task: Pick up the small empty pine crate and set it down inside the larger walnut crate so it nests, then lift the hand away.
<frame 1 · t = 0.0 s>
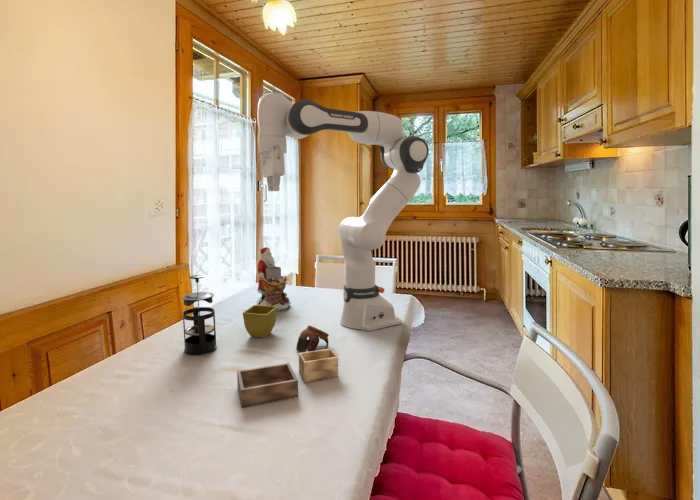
hand: (273, 191, 123), 48 cm above the table, tool pointing down, fingers open, 8 cm apart
flower pot: (261, 335, 128), on the table
santa figurine: (273, 306, 161), on the table
french press: (200, 349, 117), on the table
pottery mug: (312, 351, 116), on the table
small crate: (318, 374, 101), on the table
big crate: (267, 391, 92), on the table
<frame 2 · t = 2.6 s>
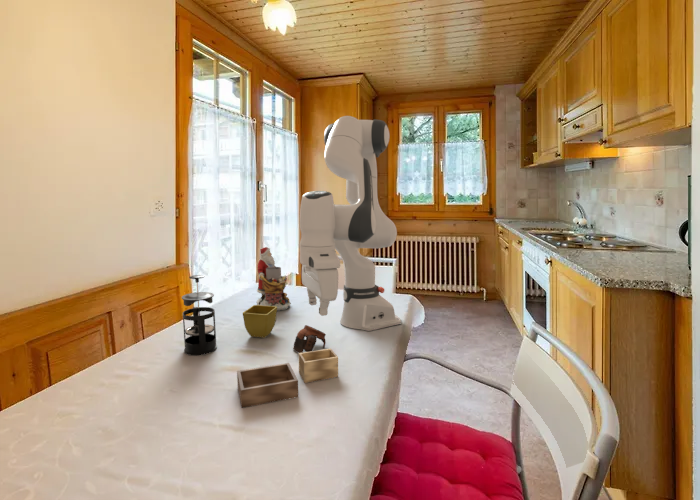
hand: (317, 309, 98), 18 cm above the table, tool pointing down, fingers open, 8 cm apart
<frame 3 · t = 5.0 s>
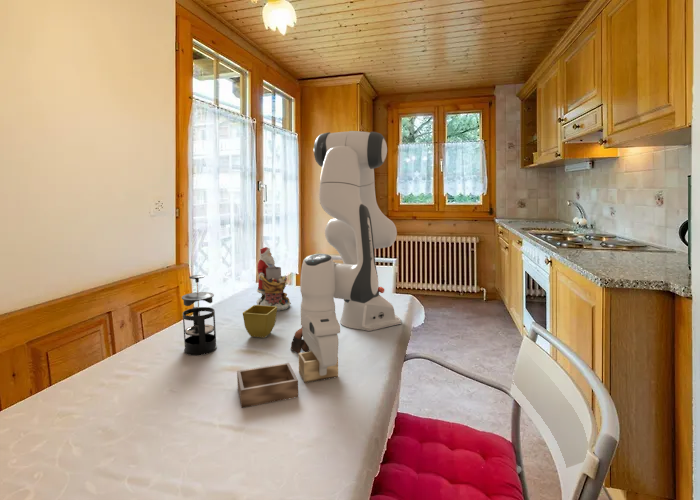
hand: (318, 368, 100), 2 cm above the table, tool pointing down, fingers closed on small crate, 6 cm apart
small crate: (318, 374, 101), on the table, touching gripper
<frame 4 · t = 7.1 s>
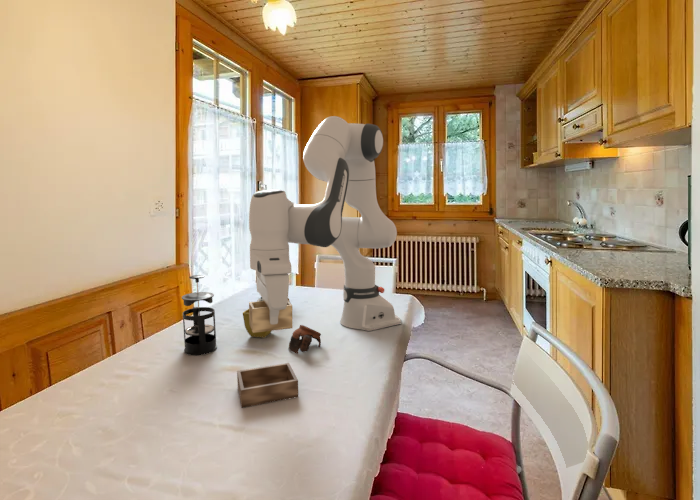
hand: (270, 318, 89), 18 cm above the table, tool pointing down, fingers closed on small crate, 6 cm apart
small crate: (270, 326, 90), point 16 cm above the table, touching gripper
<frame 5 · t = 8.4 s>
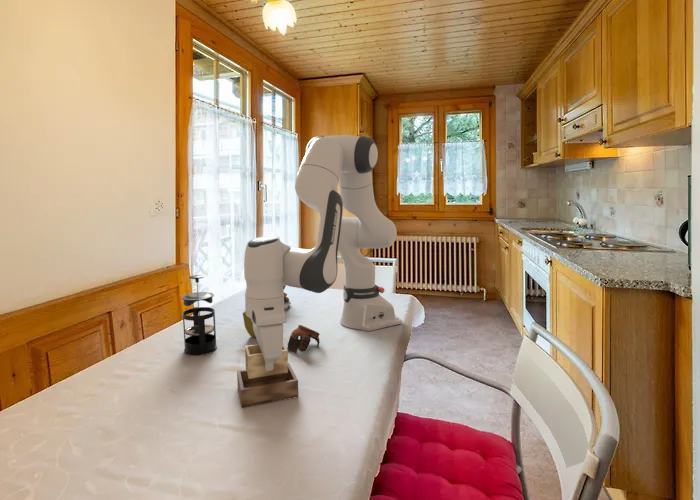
hand: (266, 362, 91), 8 cm above the table, tool pointing down, fingers closed on small crate, 6 cm apart
small crate: (266, 370, 91), point 6 cm above the table, touching gripper
when the fingers open (5 cm above the table, at t = 9.4 s): small crate drops 2 cm, resting on big crate.
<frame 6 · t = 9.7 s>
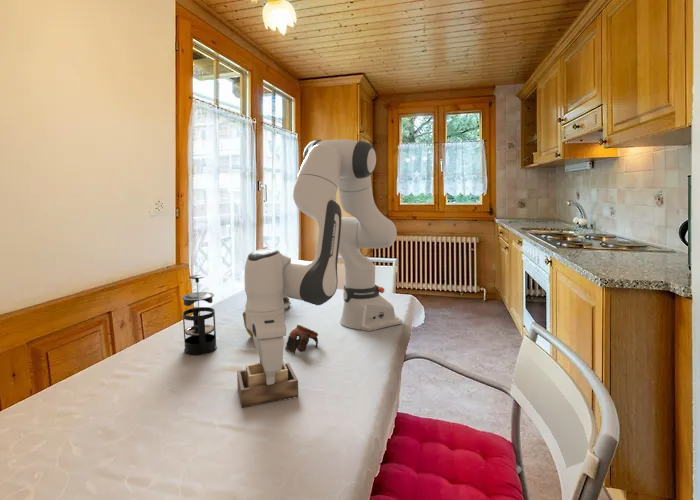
hand: (266, 373, 91), 5 cm above the table, tool pointing down, fingers open, 8 cm apart
small crate: (267, 389, 92), point 1 cm above the table, touching big crate
big crate: (267, 391, 92), on the table, touching small crate
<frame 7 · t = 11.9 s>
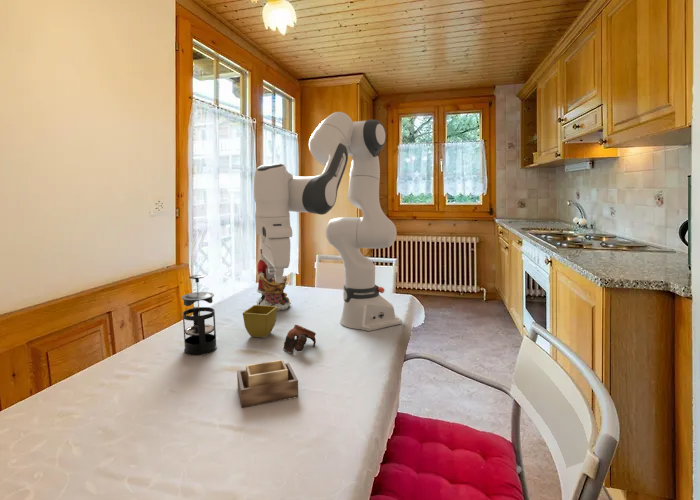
hand: (275, 277, 102), 25 cm above the table, tool pointing down, fingers open, 8 cm apart
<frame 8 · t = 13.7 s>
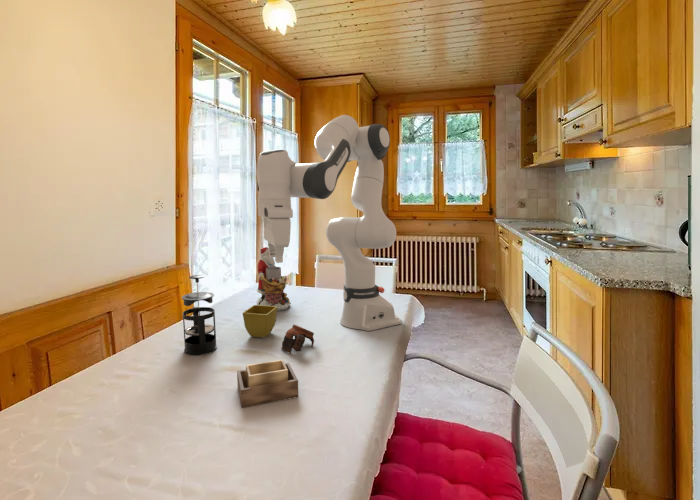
hand: (275, 259, 106), 29 cm above the table, tool pointing down, fingers open, 8 cm apart
at the end: small crate 0.1 cm off-centre on the big crate, point 0.7 cm above the big crate's base; small crate tilted 0°; the gripper is holding nothing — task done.
